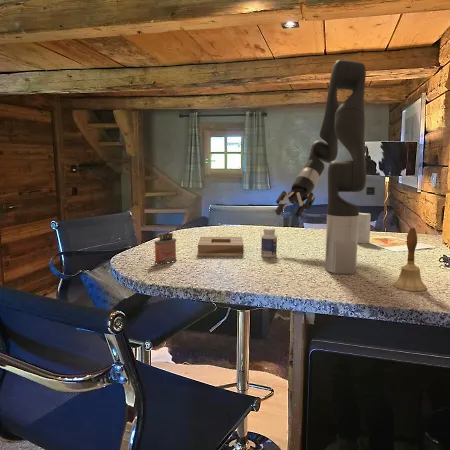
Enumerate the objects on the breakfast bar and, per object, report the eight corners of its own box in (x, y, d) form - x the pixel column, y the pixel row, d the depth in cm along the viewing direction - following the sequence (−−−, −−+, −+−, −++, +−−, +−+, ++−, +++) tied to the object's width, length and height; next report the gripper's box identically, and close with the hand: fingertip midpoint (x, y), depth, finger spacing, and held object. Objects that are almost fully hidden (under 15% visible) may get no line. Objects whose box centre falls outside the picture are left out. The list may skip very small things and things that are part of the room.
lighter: (172, 259, 145) (171, 230, 144) (178, 261, 143) (178, 231, 141) (152, 263, 140) (151, 233, 138) (158, 265, 137) (158, 234, 136)
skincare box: (369, 242, 175) (371, 213, 173) (365, 244, 172) (366, 214, 170) (355, 240, 179) (357, 212, 177) (351, 242, 176) (352, 213, 174)
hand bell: (393, 289, 112) (396, 229, 109) (392, 281, 119) (396, 224, 117) (427, 293, 109) (432, 231, 106) (425, 284, 117) (429, 226, 114)
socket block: (243, 256, 150) (243, 245, 149) (197, 256, 150) (197, 244, 149) (241, 247, 166) (242, 236, 165) (200, 246, 166) (200, 236, 165)
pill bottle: (275, 257, 148) (276, 230, 146) (260, 257, 149) (260, 229, 147) (277, 254, 153) (277, 227, 152) (262, 253, 154) (262, 227, 153)
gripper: (286, 174, 165) (266, 206, 158) (318, 175, 155) (298, 210, 148) (294, 188, 169) (275, 219, 163) (325, 189, 159) (306, 223, 153)
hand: (286, 215), depth 156 cm, fingers open, 8 cm apart
